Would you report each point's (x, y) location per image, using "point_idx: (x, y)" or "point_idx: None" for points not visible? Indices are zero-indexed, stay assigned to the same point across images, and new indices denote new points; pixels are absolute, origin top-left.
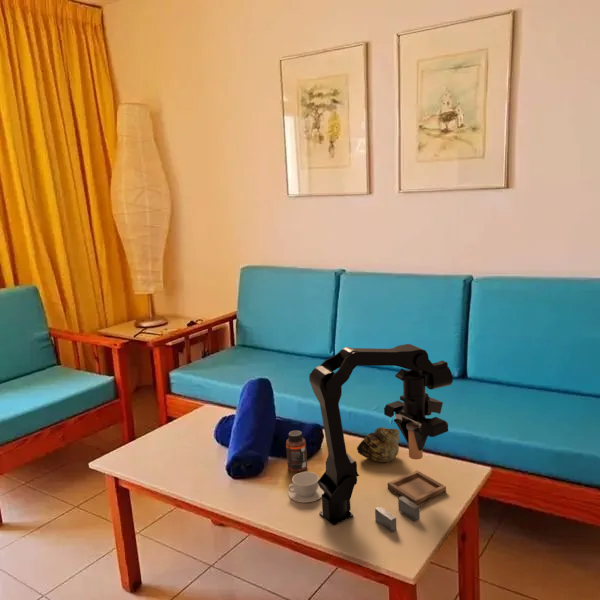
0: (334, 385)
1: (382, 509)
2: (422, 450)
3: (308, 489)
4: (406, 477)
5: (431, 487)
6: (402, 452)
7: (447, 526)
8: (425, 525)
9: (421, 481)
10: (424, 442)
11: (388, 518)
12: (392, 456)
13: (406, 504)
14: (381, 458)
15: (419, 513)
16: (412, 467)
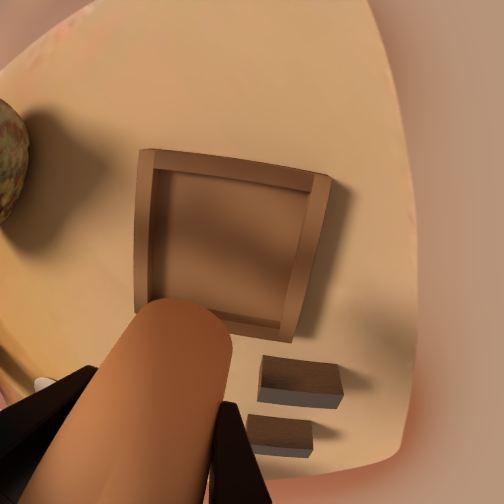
0: None
1: (260, 447)
2: (211, 356)
3: None
4: (148, 232)
5: (267, 200)
6: (25, 72)
7: (416, 337)
8: (363, 371)
9: (202, 189)
10: (256, 477)
11: (298, 457)
12: (22, 158)
13: (298, 403)
14: (13, 202)
15: (339, 377)
16: (98, 112)
